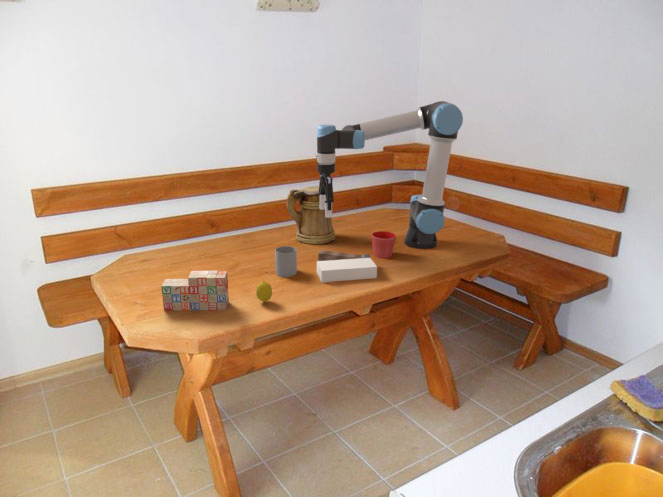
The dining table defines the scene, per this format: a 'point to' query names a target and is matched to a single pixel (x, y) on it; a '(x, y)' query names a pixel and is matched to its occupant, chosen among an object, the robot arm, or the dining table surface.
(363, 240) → the dining table surface
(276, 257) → the cup
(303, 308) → the dining table surface
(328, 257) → the folding leg
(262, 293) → the lemon
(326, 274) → the white rectangular box
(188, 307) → the stack of blocks
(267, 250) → the dining table surface
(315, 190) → the tankard
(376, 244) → the flower pot
